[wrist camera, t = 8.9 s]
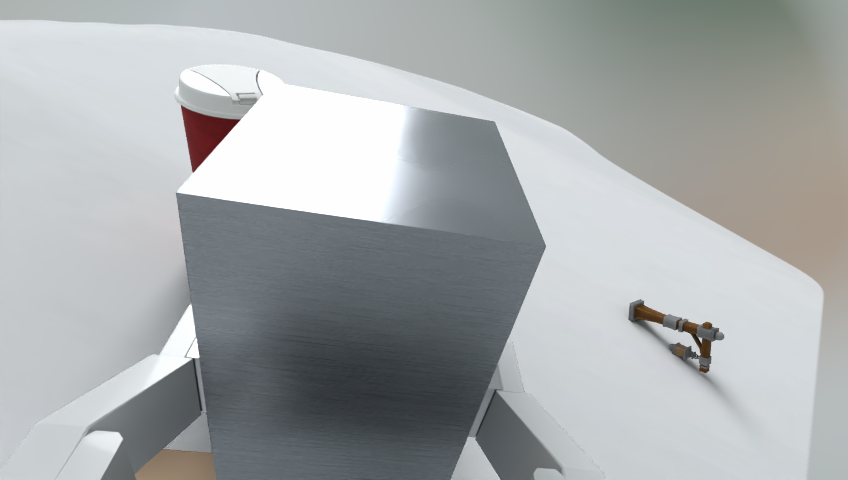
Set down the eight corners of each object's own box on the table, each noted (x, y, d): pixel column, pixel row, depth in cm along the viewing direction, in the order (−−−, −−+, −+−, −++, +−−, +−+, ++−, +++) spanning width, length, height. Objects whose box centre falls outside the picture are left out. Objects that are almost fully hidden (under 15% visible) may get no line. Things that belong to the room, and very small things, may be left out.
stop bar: (395, 611, 13) (545, 246, 6) (233, 604, 12) (175, 192, 5) (399, 459, 17) (494, 121, 10) (274, 449, 16) (274, 82, 9)
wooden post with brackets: (712, 380, 38) (719, 331, 37) (626, 344, 45) (630, 301, 44) (723, 373, 39) (730, 325, 38) (636, 339, 46) (641, 297, 45)
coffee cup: (300, 256, 42) (308, 98, 34) (204, 277, 38) (186, 101, 29) (269, 209, 47) (269, 62, 39) (182, 222, 43) (160, 59, 34)
